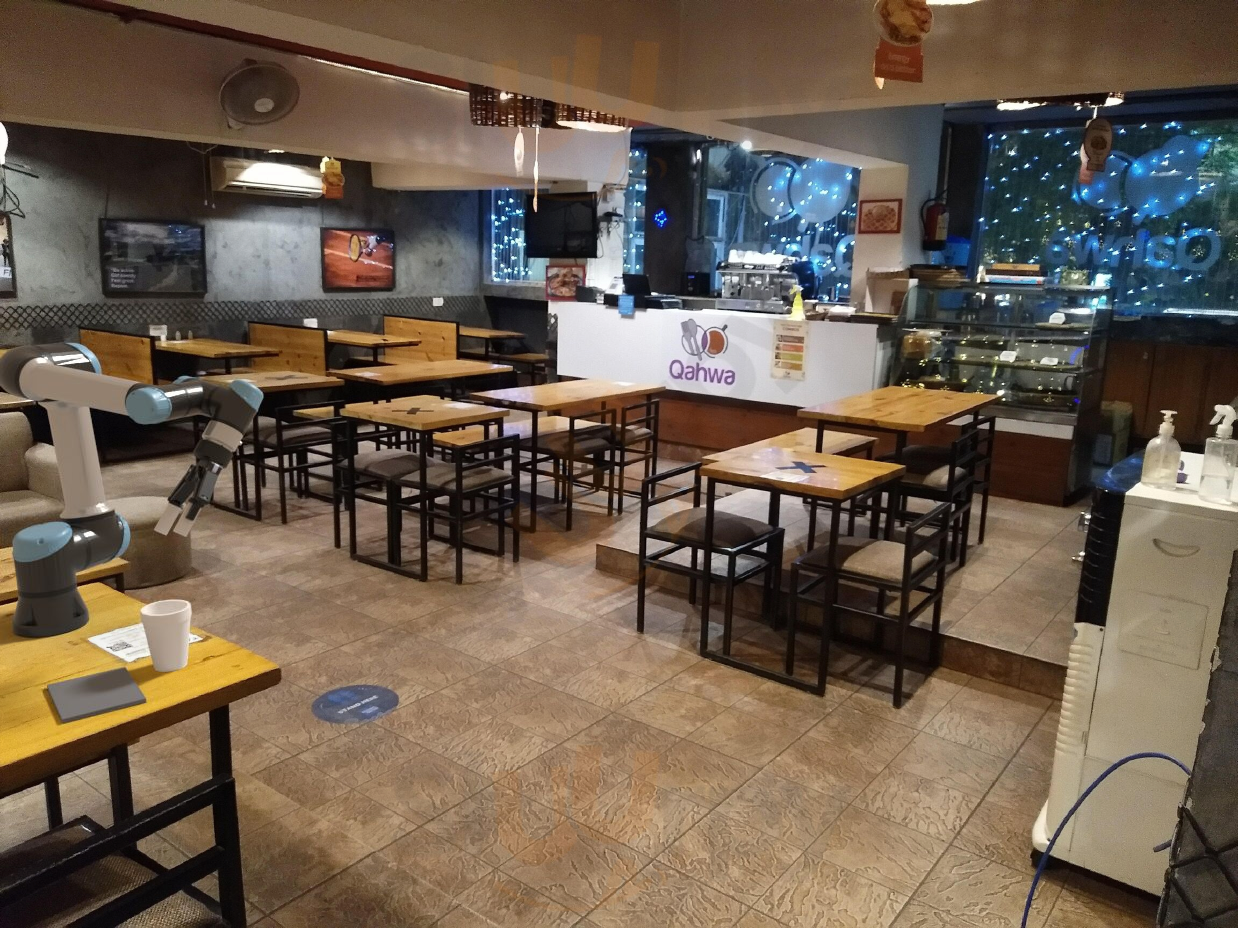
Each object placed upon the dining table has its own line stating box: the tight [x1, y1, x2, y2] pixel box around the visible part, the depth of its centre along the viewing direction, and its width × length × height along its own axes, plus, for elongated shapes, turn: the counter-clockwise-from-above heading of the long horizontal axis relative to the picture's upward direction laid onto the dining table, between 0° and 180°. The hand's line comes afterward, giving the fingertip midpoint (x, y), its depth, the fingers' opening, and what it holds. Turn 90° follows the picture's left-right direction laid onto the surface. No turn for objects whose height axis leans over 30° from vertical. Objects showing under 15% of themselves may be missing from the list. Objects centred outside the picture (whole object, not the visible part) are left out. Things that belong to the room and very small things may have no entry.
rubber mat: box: [46, 666, 147, 724], centre depth 177 cm, size 18×14×1 cm
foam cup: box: [139, 599, 192, 673], centre depth 190 cm, size 10×9×13 cm
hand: (169, 533), depth 191 cm, fingers open, 13 cm apart
